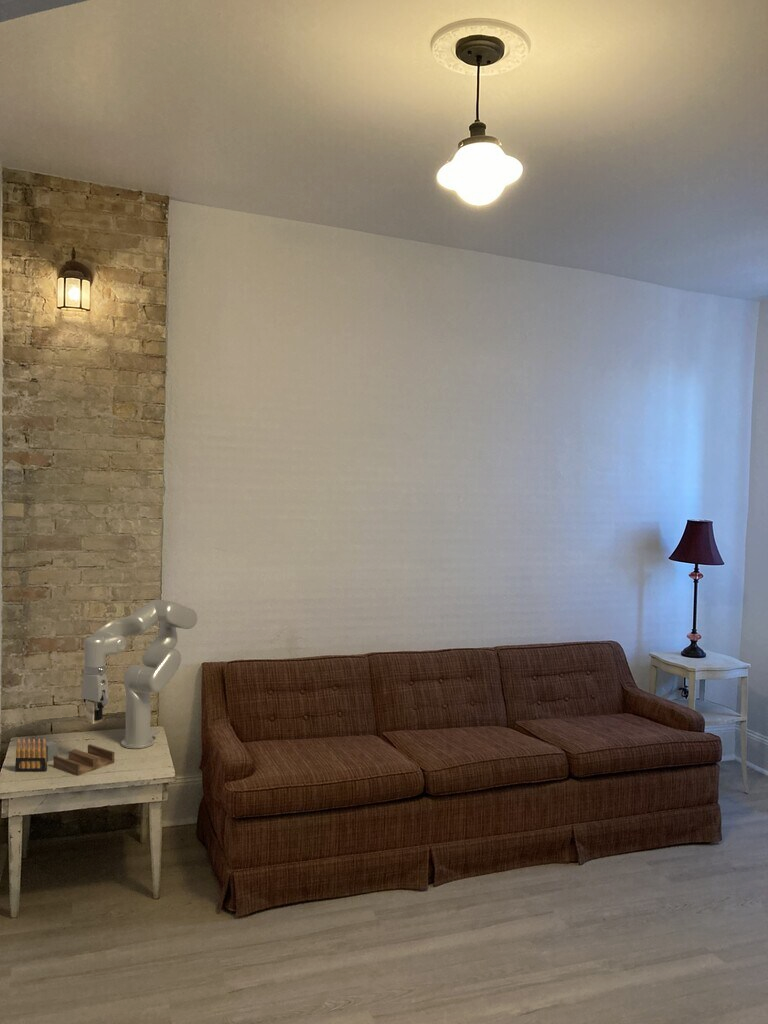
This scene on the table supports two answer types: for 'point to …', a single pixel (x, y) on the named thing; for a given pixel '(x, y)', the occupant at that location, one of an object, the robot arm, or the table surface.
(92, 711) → the birch block
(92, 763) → the slot rack
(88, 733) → the table surface
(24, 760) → the ammunition clip
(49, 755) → the rubber block
